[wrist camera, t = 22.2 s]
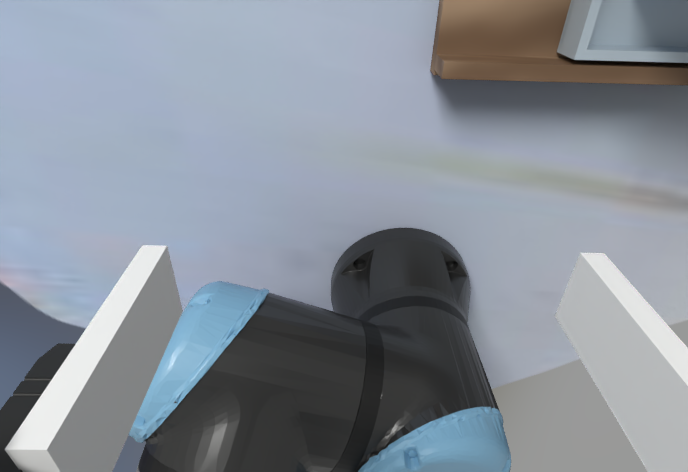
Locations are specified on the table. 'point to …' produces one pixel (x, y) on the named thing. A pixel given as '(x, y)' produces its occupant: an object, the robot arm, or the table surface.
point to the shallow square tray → (626, 31)
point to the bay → (526, 47)
